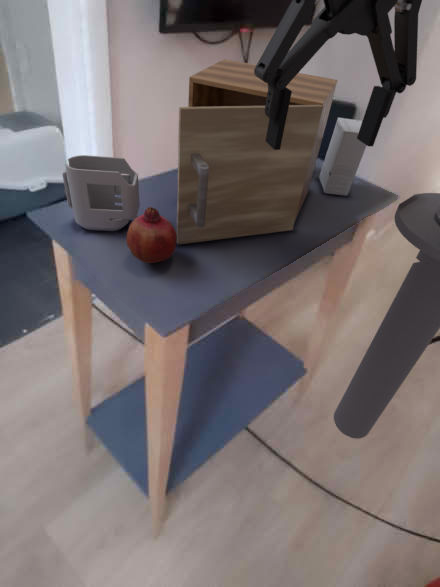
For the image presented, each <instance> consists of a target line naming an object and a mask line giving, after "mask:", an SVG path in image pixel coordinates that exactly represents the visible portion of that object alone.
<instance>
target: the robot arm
mask: <svg viewBox="0 0 440 587" xmlns="http://www.w3.org/2000/svg"><path fill="white" fill-rule="evenodd" d="M320 1H321V0H291V2H290V4H289V6H288V8H287V9H286V11H285V13H284V14H283V17H282V18H281V20H280V22H279V23H278V25H277V27H276V29H275V30H274V33H273V35H272V36H271V38H270V40H269V42H268V43H267V45H266V47H265V49H264V50H263V52H262V54H261V56H260V58H259V60H258V61H257V63H256V64H255V65H256V67H255V69H254V74H255V75H256V76H257V77H258V78H259V79H261V80H262V81H264V82H265V83H267V84H268V92H267V98H266V104H265V115H266V116H267V117H268V118H269V124H268V129H267V135H266V142H267V143H268V144H269V145H270V146H271V147H272V148H273V149H274V150H280V147H281V142H282V137H283V132H284V128H285V123H286V118H287V113H288V108H289V103H290V98H291V93H292V91H291V90H289V89H288V88H286V86H287V85H288V84H289V83H290V82H291V80H292V79H293V78H294V77H295V76H296V75H297V74H298V73H301V70H302V69H304V67H305V66H306V65H307V64H308V63H309V62H310V61H311V60H312V58H313V57H314V56H315V55H316V54H317V53H318V52H319V50H320V49H322V47H323V46H324V45H325V44H326V43H327V41H328V40H330V39H332V38H334V37H335V36H336V35H337V34H338V33H339V34H341V35H349V36H350V35H353V34H354V35H355V34H357V35H358V36H359V35H360V36H363V37H364V36H365V37H367V40H368V43H369V47H370V50H371V53H372V57H373V62H374V64H375V67H376V71H377V75H378V77H379V80H380V84H381V86H380V85H373V88H372V91H371V94H370V97H369V99H368V102H367V107H366V109H365V112H364V116H363V119H362V120H361V121H362V124H361V127H360V130H359V133H358V136H357V139H358V140H360V141H361V142H362V143H364V144H365V145H366V147H374V144H375V143H376V139H377V137H378V134H379V131H380V128H381V125H382V123H383V120H384V119H386V118H387V117H388V116H389V113H390V111H391V108H392V105H393V102H394V100H395V97H396V94H402V93H404V92H405V90H406V88H407V86H409V87H410V86H413V85H414V84H415V83H416V80H417V65H418V41H419V40H418V37H419V36H418V34H419V13H420V9H421V7H422V6H421V5H422V2H423V0H323V4H324V7H322V9H321V10H320V12H318V14H317V15H315V17H314V19H313V20H312V21H311V25H310V26H309V27H308V29H307V30H306V31H305V32H304V34H302V35H301V37H300V38H299V39H298V38H297V37H298V36H299V34H300V33H301V31H302V29H303V28H304V26H305V24H306V22H307V21H308V19H309V18H310V16H311V14H312V12H313V9H314V7H315V5H317V4H318V3H319V2H320ZM393 8H394V17H393V18H394V19H393V21H394V22H393V24H394V25H393V26H394V27H393V28H394V30H393V29H392V26H391V21H390V17H389V13H390V12H391V11H392V10H393ZM393 32H394V35H393V38H394V40H392V36H391V34H392V33H393ZM297 39H298V40H297ZM296 40H297V42H296V43H295V41H296ZM393 41H394V44H393ZM435 221H436V222H437V224H438V225H439V226H440V207H439V208H438V210H437V212H436V214H435Z"/></svg>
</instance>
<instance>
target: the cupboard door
mask: <svg viewBox="0 0 440 587" xmlns="http://www.w3.org/2000/svg"><path fill="white" fill-rule="evenodd" d="M322 110H323V106H322V105H289V108H288V113H287V118H286V123H285V128H284V132H283V137H282V142H281V147H280V150H274V149H273V148H272V147H271V146H270V145H269V144H268V143H267V142H266V135H267V129H268V124H269V118H268V117H267V116H266V115H265V106H213V107H188V106H179V107H178V141H177V142H178V143H177V148H178V149H177V150H178V151H177V157H178V158H177V192H176V193H177V195H176V196H177V199H176V234H177V240H176V244H177V245H185V244H194V243H201V242H209V241H217V240H225V239H232V238H233V239H234V238H241V237H249V236H256V235H264V234H272V233H280V232H288V231H293V230H294V225H295V223H294V222H296V220H295V218H296V214H297V210H298V206H299V202H300V198H301V194H302V190H303V186H304V182H305V178H306V174H307V170H308V166H309V162H310V158H311V154H312V150H313V146H314V142H315V138H316V134H317V130H318V126H319V122H320V118H321V114H322ZM296 219H297V218H296Z"/></svg>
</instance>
